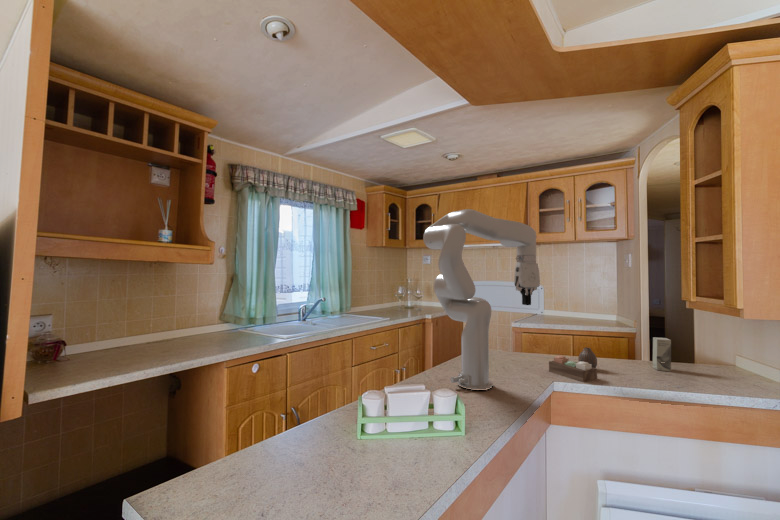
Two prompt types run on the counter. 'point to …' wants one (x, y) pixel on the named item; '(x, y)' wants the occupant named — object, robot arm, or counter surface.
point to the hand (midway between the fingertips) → (526, 304)
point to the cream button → (583, 365)
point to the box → (662, 354)
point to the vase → (588, 357)
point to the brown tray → (573, 372)
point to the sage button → (571, 363)
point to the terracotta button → (561, 359)
